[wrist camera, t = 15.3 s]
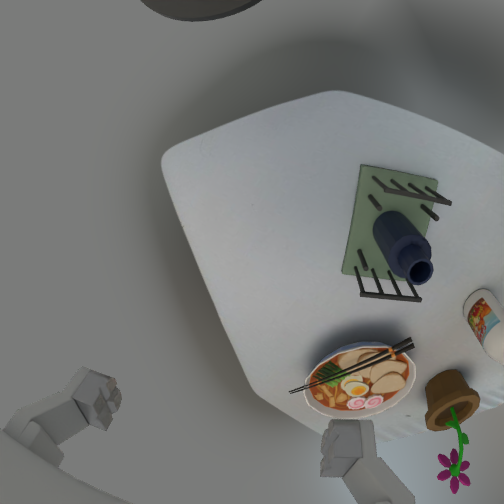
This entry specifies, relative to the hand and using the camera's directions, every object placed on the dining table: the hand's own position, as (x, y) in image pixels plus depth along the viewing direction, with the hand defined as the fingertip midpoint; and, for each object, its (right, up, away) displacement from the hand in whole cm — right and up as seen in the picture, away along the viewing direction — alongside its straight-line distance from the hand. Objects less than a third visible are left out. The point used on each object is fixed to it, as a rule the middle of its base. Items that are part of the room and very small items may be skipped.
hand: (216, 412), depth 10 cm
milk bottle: (+47, -5, +38) cm, 61 cm away
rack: (+23, +10, +35) cm, 43 cm away
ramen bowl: (+23, -17, +48) cm, 56 cm away
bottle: (+23, +9, +34) cm, 42 cm away
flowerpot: (+49, -27, +48) cm, 74 cm away
